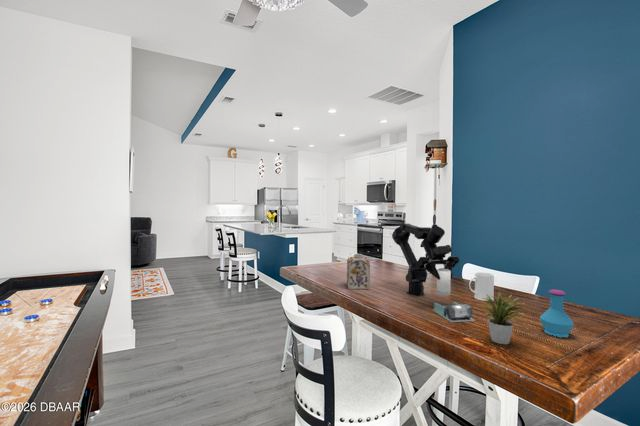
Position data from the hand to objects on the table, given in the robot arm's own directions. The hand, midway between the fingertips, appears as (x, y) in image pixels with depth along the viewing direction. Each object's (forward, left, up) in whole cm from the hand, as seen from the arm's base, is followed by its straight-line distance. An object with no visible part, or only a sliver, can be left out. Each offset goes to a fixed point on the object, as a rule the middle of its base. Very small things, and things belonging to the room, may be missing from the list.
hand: (445, 278), depth 127 cm
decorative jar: (-49, +1, -14) cm, 51 cm away
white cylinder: (-1, +1, -7) cm, 7 cm away
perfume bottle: (+37, +6, -14) cm, 40 cm away
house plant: (+26, -17, -13) cm, 34 cm away
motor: (+5, -4, -13) cm, 15 cm away
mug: (+4, +30, -14) cm, 33 cm away
